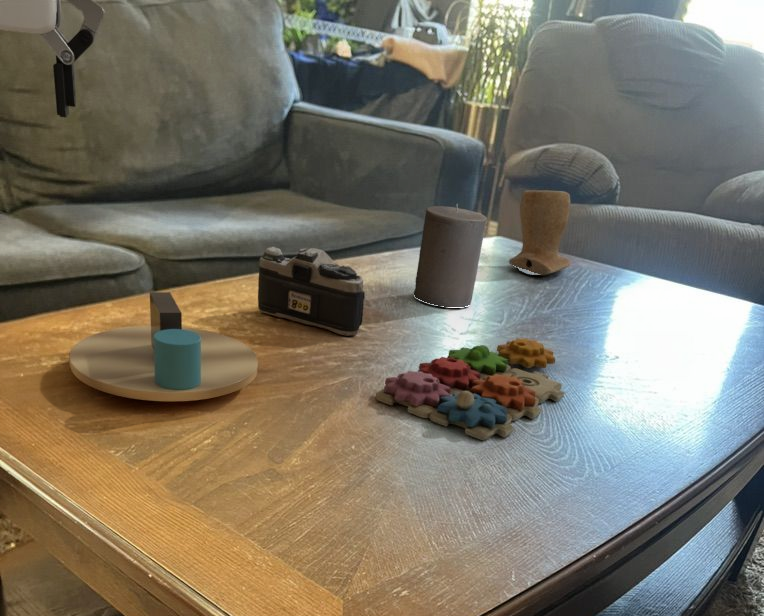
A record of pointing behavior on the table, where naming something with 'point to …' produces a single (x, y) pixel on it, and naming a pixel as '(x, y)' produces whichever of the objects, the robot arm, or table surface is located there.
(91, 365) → the tray
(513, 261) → the brown flared block
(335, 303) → the camera
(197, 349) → the teal cylinder block
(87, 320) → the table surface
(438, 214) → the pillar candle
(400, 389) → the gear puzzle
